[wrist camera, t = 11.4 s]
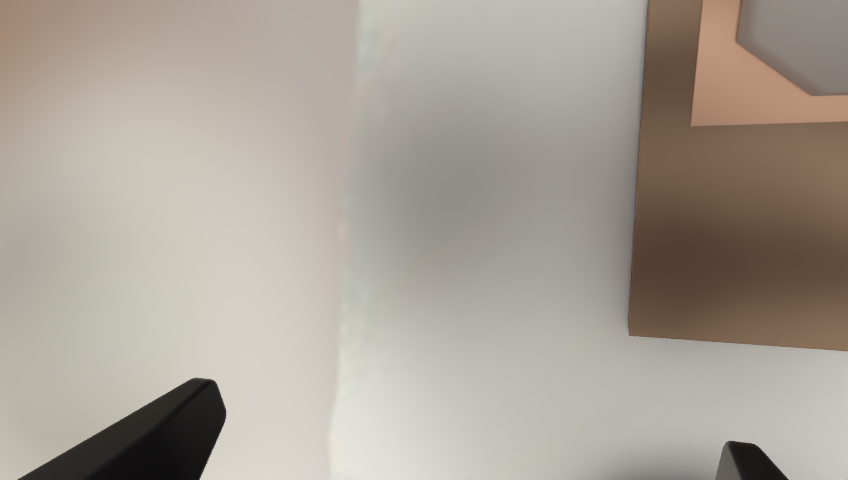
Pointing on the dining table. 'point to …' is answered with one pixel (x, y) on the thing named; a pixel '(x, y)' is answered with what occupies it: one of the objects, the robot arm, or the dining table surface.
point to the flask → (800, 41)
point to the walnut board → (736, 192)
